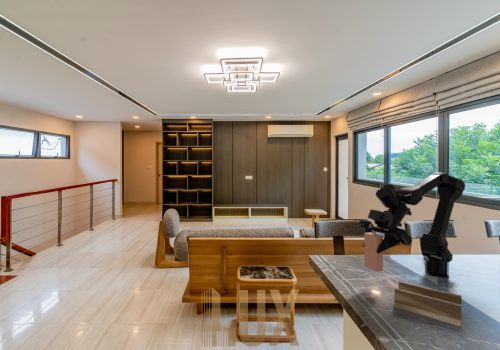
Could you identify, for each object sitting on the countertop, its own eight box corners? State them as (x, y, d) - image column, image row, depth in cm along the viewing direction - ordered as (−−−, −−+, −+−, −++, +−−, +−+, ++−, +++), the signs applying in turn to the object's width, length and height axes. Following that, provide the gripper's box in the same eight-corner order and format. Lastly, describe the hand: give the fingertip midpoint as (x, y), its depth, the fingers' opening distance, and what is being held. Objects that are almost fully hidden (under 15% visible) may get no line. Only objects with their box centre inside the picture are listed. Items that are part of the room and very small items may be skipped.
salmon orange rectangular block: (370, 264, 96) (370, 232, 96) (382, 270, 91) (383, 235, 91) (364, 266, 95) (364, 232, 95) (376, 271, 90) (376, 236, 90)
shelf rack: (399, 294, 88) (400, 279, 88) (461, 310, 78) (461, 294, 78) (393, 306, 80) (393, 290, 80) (460, 326, 70) (461, 308, 70)
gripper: (362, 198, 102) (339, 229, 99) (406, 204, 85) (380, 242, 81) (377, 217, 106) (355, 248, 102) (422, 227, 88) (398, 264, 84)
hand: (370, 250), depth 92 cm, fingers closed on salmon orange rectangular block, 5 cm apart
